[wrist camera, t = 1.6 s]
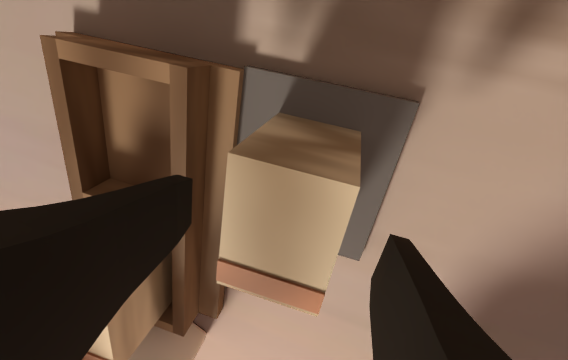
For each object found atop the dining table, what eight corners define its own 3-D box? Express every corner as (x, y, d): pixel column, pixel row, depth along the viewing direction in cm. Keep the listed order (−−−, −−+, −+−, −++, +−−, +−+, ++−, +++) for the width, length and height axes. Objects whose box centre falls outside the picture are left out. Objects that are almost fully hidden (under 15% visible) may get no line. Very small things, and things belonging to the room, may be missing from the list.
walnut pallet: (247, 69, 14) (220, 75, 11) (222, 308, 22) (203, 344, 19) (72, 32, 15) (12, 29, 13) (108, 268, 23) (75, 296, 20)
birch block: (361, 131, 13) (360, 188, 8) (332, 226, 16) (316, 318, 10) (279, 112, 14) (226, 153, 8) (263, 207, 16) (215, 284, 11)
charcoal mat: (417, 101, 13) (419, 103, 12) (359, 255, 17) (359, 261, 16) (248, 65, 14) (244, 66, 13) (232, 217, 18) (228, 221, 17)
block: (179, 230, 18) (102, 307, 13) (179, 291, 20) (114, 377, 15) (124, 213, 19) (27, 280, 13) (130, 274, 21) (51, 351, 16)
